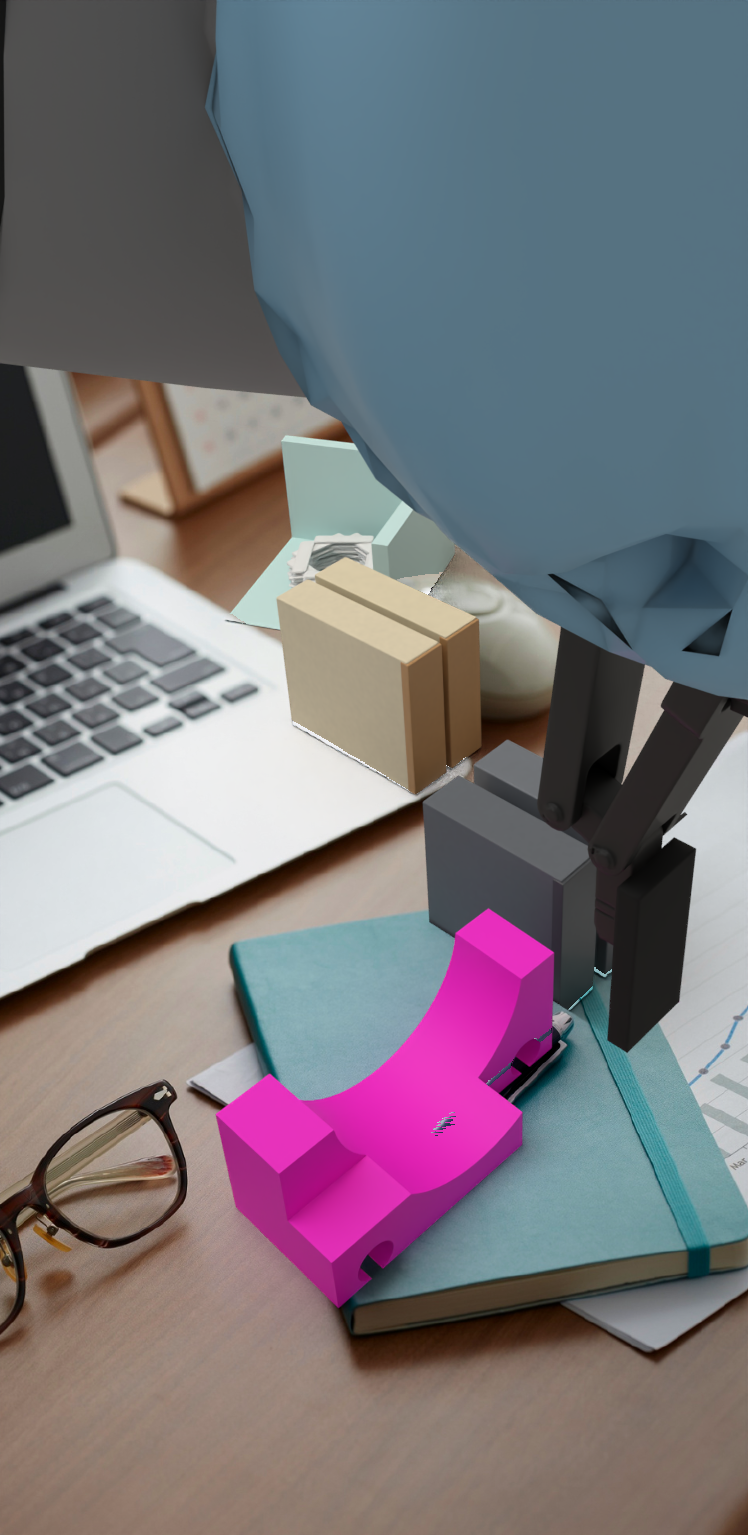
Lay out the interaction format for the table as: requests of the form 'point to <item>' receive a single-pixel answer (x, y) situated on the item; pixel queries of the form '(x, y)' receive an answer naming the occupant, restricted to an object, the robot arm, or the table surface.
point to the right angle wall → (341, 526)
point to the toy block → (396, 1120)
